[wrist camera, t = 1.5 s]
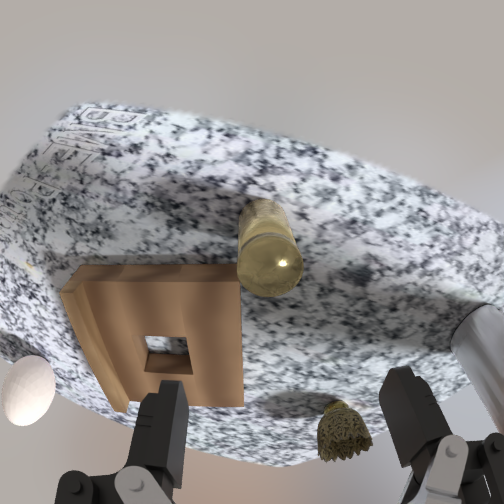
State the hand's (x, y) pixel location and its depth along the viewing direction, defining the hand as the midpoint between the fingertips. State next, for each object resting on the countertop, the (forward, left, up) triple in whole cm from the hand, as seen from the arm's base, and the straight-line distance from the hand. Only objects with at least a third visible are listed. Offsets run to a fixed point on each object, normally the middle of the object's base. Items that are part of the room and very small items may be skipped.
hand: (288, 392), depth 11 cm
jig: (+10, +13, -17) cm, 24 cm away
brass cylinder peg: (0, 0, -17) cm, 17 cm away
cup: (-11, +28, -17) cm, 35 cm away
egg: (+31, +20, -17) cm, 41 cm away
